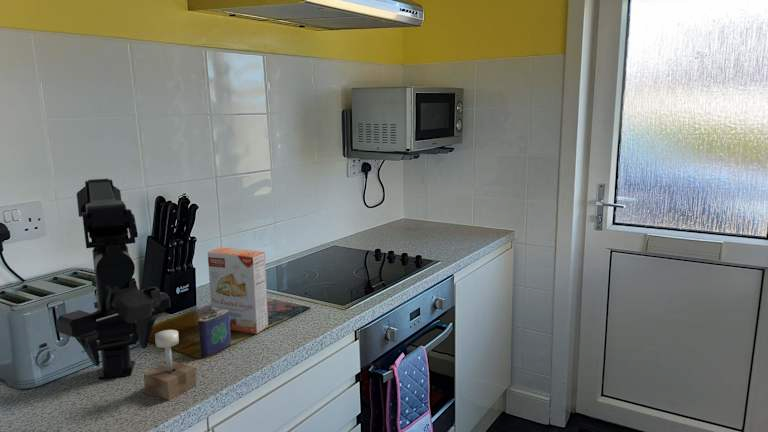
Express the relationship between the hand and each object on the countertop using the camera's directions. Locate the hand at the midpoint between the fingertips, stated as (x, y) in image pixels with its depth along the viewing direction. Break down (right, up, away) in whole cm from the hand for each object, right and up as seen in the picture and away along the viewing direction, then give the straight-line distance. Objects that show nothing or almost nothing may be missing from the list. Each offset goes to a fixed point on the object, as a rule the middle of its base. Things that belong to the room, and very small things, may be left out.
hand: (121, 356), depth 102 cm
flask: (+8, -7, +31) cm, 33 cm away
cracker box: (+10, -4, +45) cm, 46 cm away
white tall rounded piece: (+4, -6, +12) cm, 14 cm away
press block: (+4, -10, +13) cm, 17 cm away
